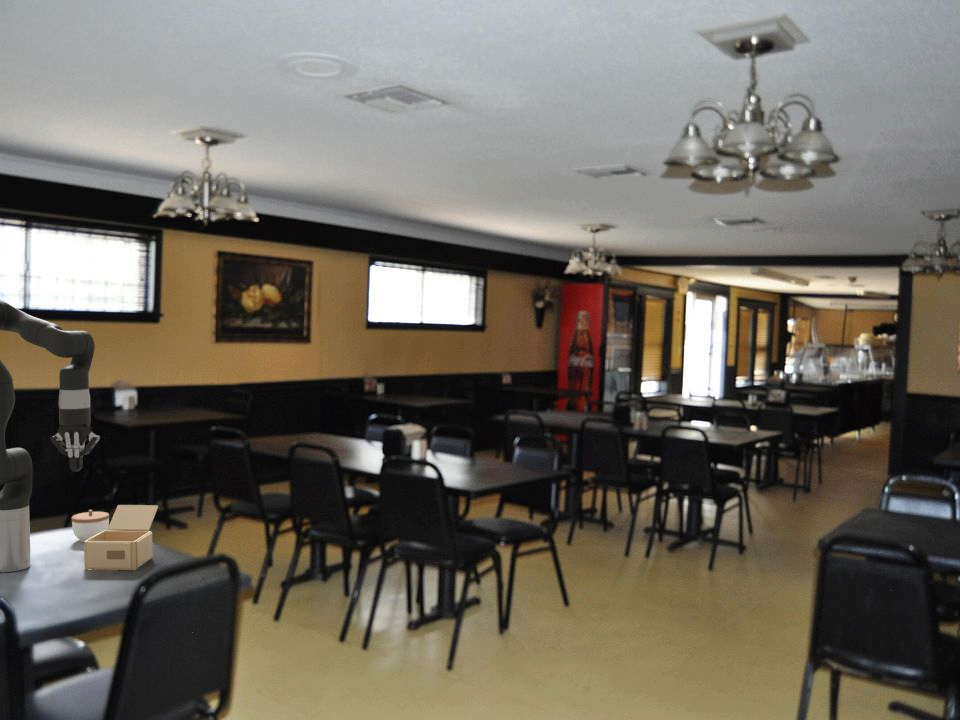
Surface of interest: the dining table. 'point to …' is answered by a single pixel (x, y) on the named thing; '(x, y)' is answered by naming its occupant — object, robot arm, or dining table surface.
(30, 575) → the dining table surface
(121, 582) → the dining table surface
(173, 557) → the dining table surface
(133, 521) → the flap
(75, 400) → the robot arm
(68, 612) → the dining table surface
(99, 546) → the carton
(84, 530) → the lidded jar
